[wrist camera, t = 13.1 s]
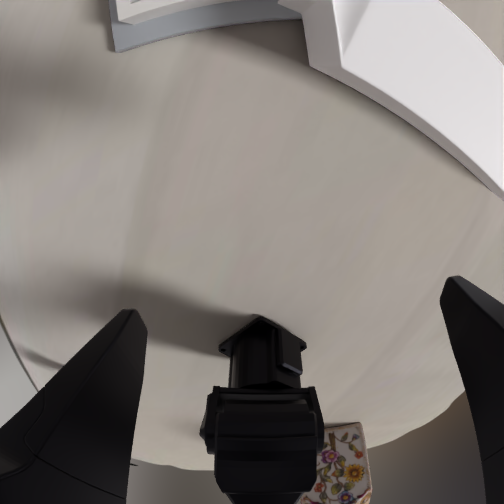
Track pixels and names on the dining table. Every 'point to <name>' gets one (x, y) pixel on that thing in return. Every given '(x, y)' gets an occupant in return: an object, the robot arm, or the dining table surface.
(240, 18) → the socket plate
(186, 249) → the dining table surface
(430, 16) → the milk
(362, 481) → the decorative jar
